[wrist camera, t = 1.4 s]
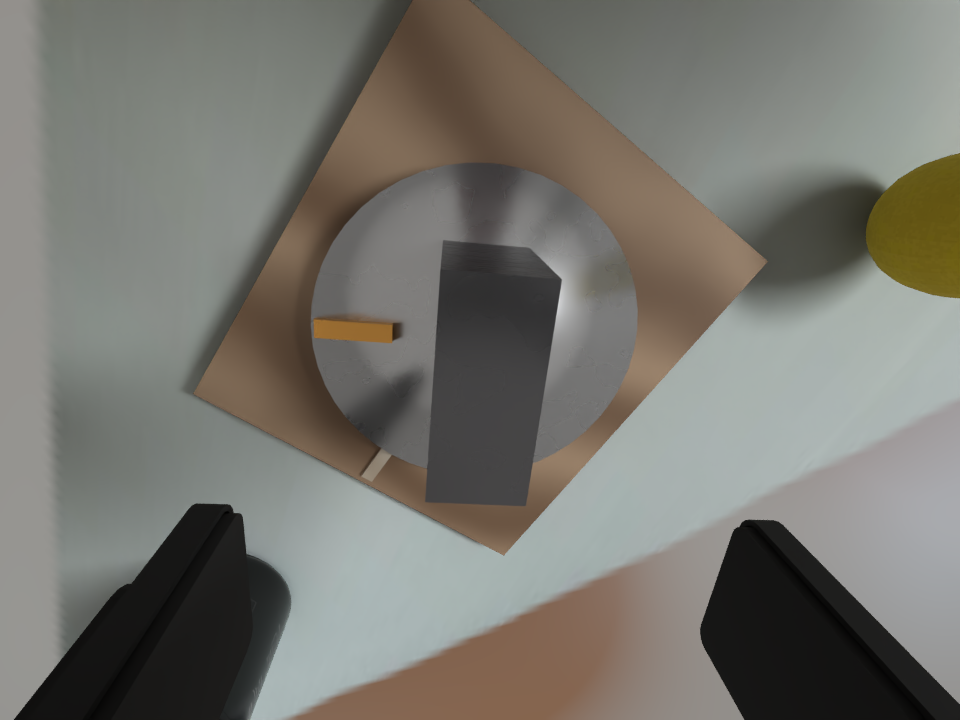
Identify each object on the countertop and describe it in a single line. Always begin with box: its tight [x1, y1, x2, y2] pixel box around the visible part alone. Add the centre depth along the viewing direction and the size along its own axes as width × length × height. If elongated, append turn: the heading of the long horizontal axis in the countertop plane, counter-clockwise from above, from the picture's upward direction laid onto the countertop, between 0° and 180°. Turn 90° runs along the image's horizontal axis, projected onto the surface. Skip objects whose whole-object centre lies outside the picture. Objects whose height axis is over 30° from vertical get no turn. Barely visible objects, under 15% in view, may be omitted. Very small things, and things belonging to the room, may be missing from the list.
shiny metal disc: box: [311, 163, 638, 506], centre depth 18 cm, size 14×14×7 cm
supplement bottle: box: [219, 555, 291, 720], centre depth 23 cm, size 7×7×12 cm
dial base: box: [193, 0, 768, 555], centre depth 22 cm, size 20×18×2 cm
